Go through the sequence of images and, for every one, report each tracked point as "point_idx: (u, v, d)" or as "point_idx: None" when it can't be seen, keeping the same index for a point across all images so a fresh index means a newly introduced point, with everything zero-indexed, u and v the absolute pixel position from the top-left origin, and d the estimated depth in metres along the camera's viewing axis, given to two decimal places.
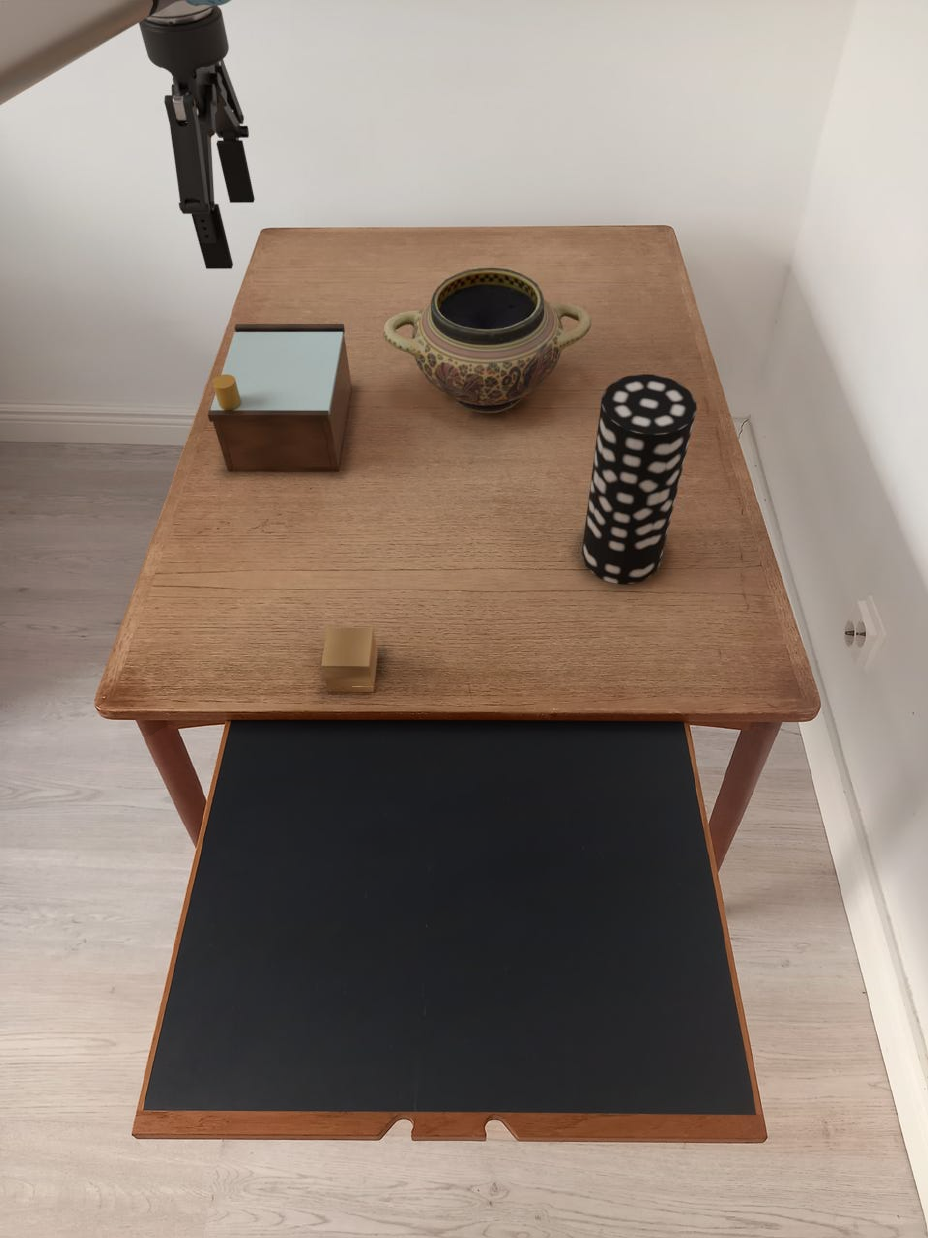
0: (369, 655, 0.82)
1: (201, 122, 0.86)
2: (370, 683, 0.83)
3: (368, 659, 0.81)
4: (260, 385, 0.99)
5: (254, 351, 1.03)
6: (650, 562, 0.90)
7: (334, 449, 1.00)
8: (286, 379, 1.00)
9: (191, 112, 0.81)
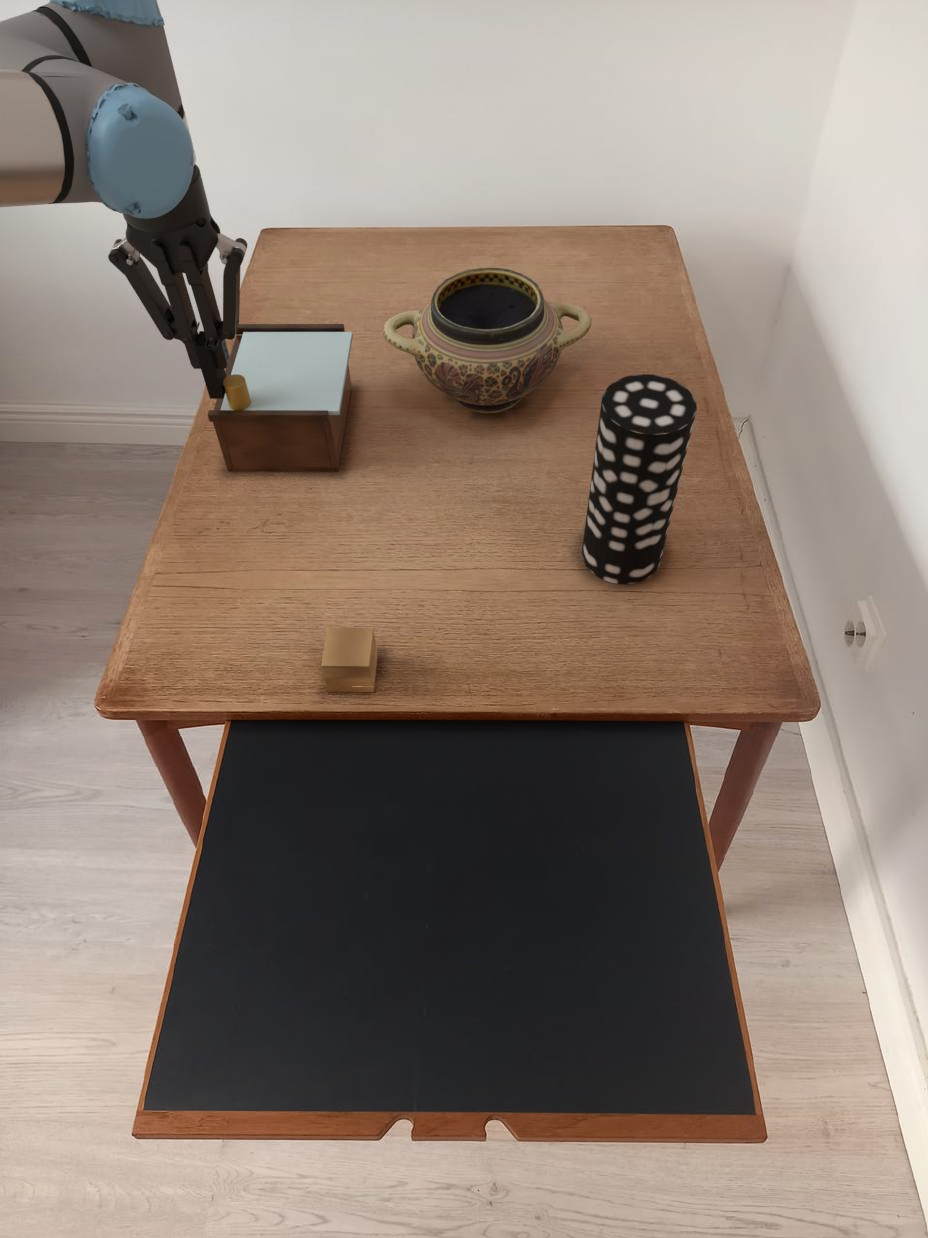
0: (369, 655, 0.82)
1: None
2: (370, 683, 0.83)
3: (368, 659, 0.81)
4: (270, 385, 0.99)
5: (263, 351, 1.03)
6: (650, 562, 0.90)
7: (334, 449, 1.00)
8: (296, 379, 1.00)
9: None
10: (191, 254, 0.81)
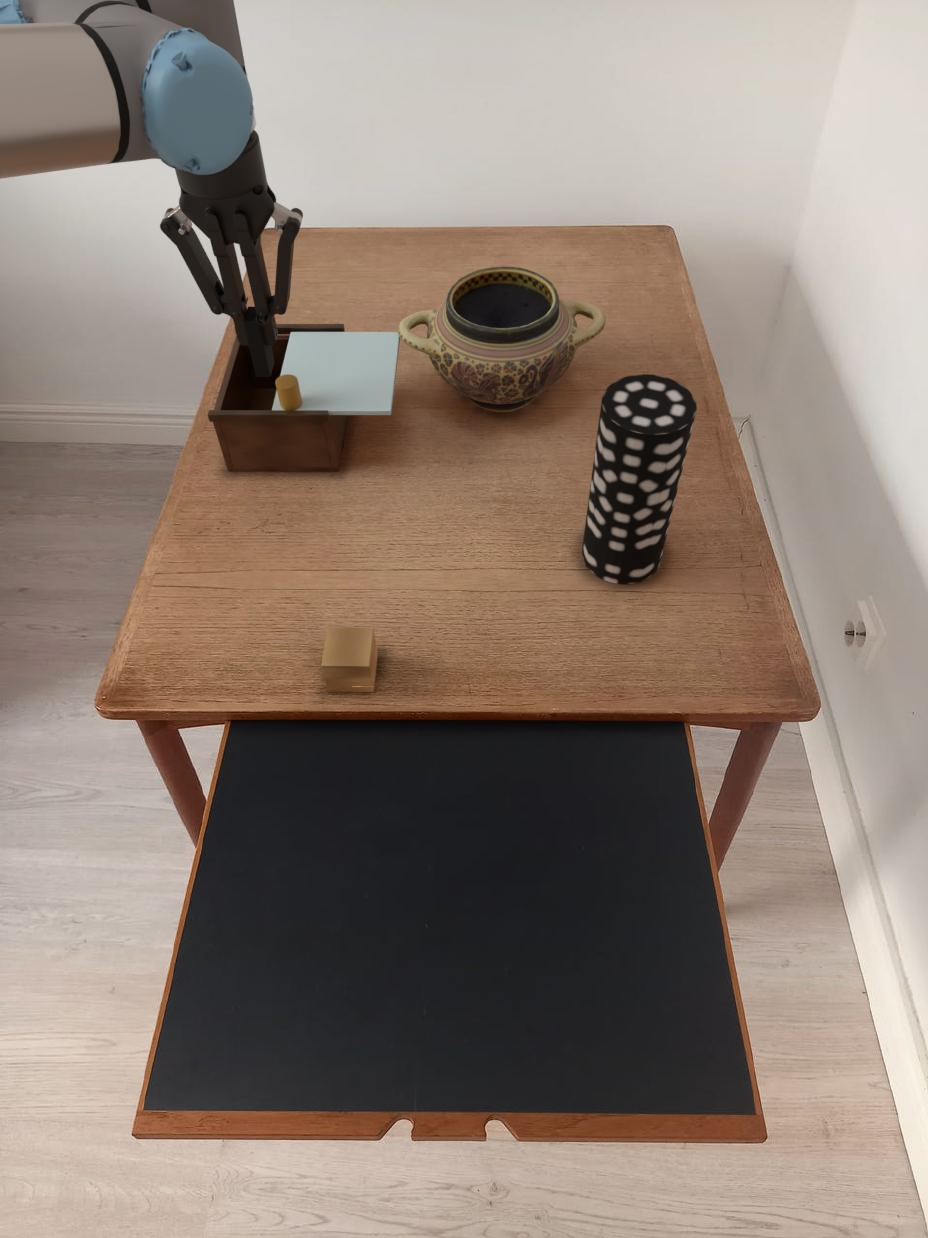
0: (369, 655, 0.82)
1: None
2: (370, 683, 0.83)
3: (368, 659, 0.81)
4: (320, 385, 0.99)
5: (311, 351, 1.03)
6: (650, 562, 0.90)
7: (334, 449, 1.00)
8: (346, 379, 0.99)
9: None
10: (246, 223, 0.79)
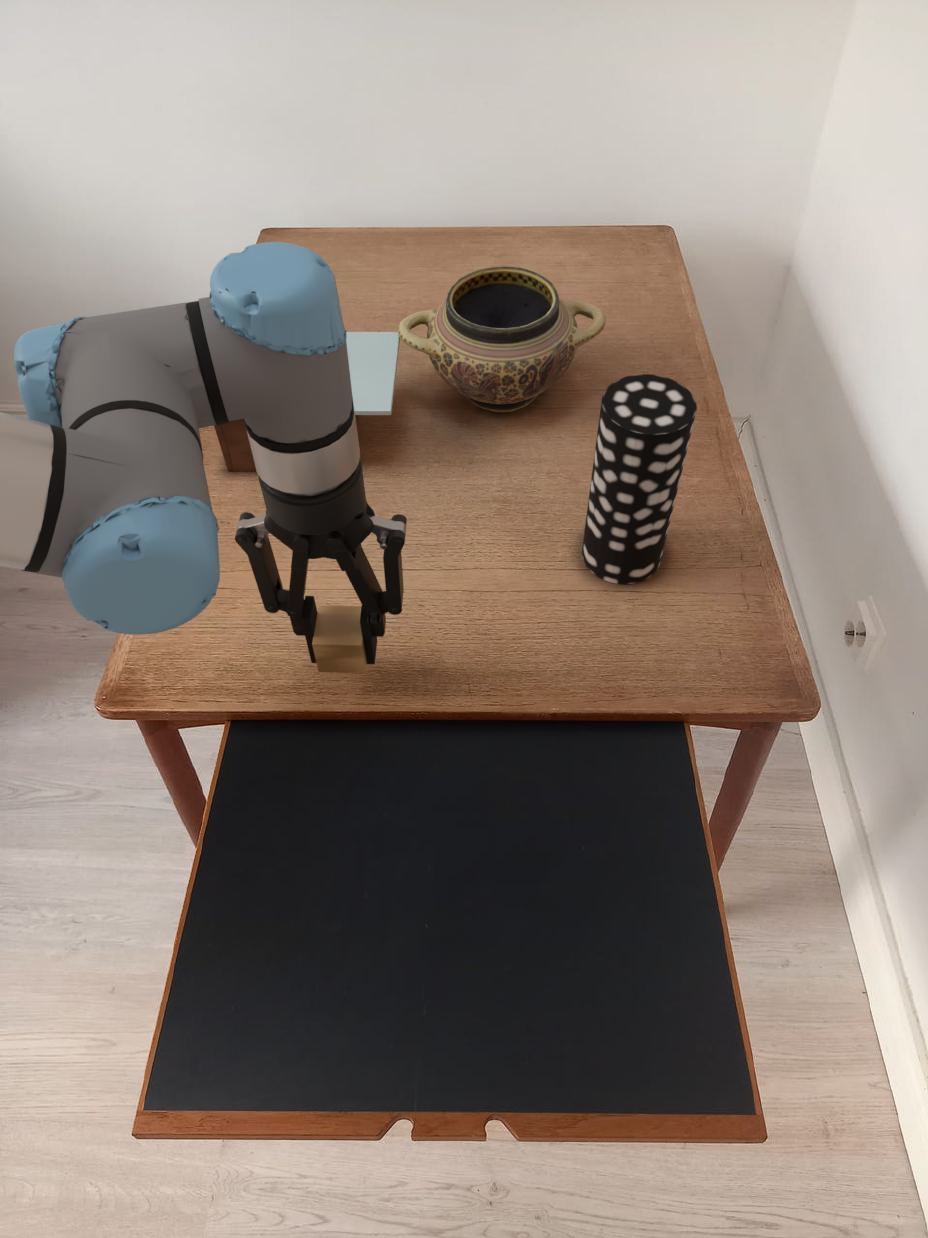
0: None
1: None
2: (363, 663, 0.80)
3: (361, 638, 0.79)
4: None
5: None
6: (650, 562, 0.90)
7: None
8: None
9: None
10: (342, 546, 0.68)
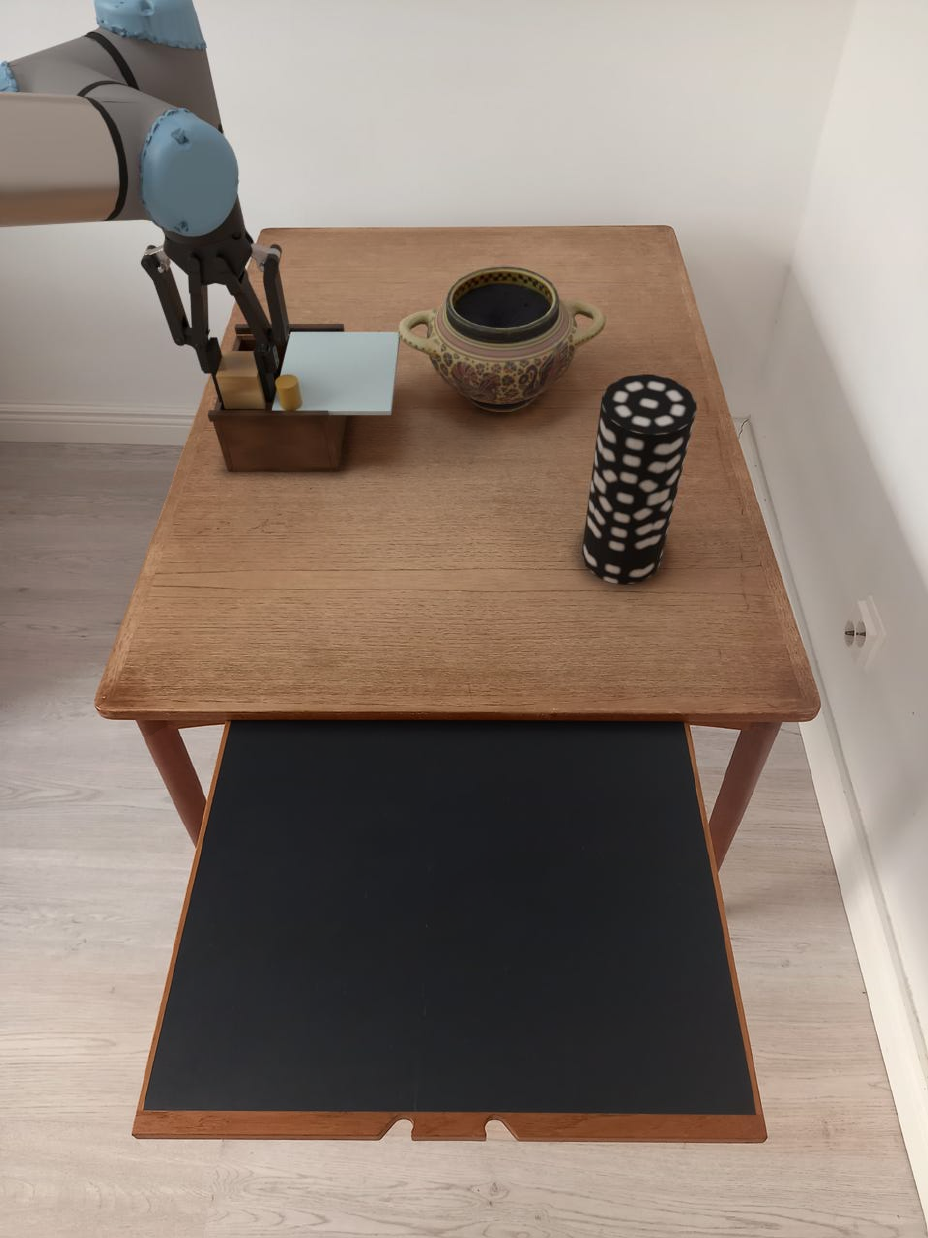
0: None
1: None
2: (260, 397, 0.96)
3: (256, 371, 0.95)
4: (320, 385, 0.99)
5: (311, 351, 1.03)
6: (650, 562, 0.90)
7: (334, 449, 1.00)
8: (346, 379, 0.99)
9: (280, 258, 0.87)
10: (226, 266, 0.84)
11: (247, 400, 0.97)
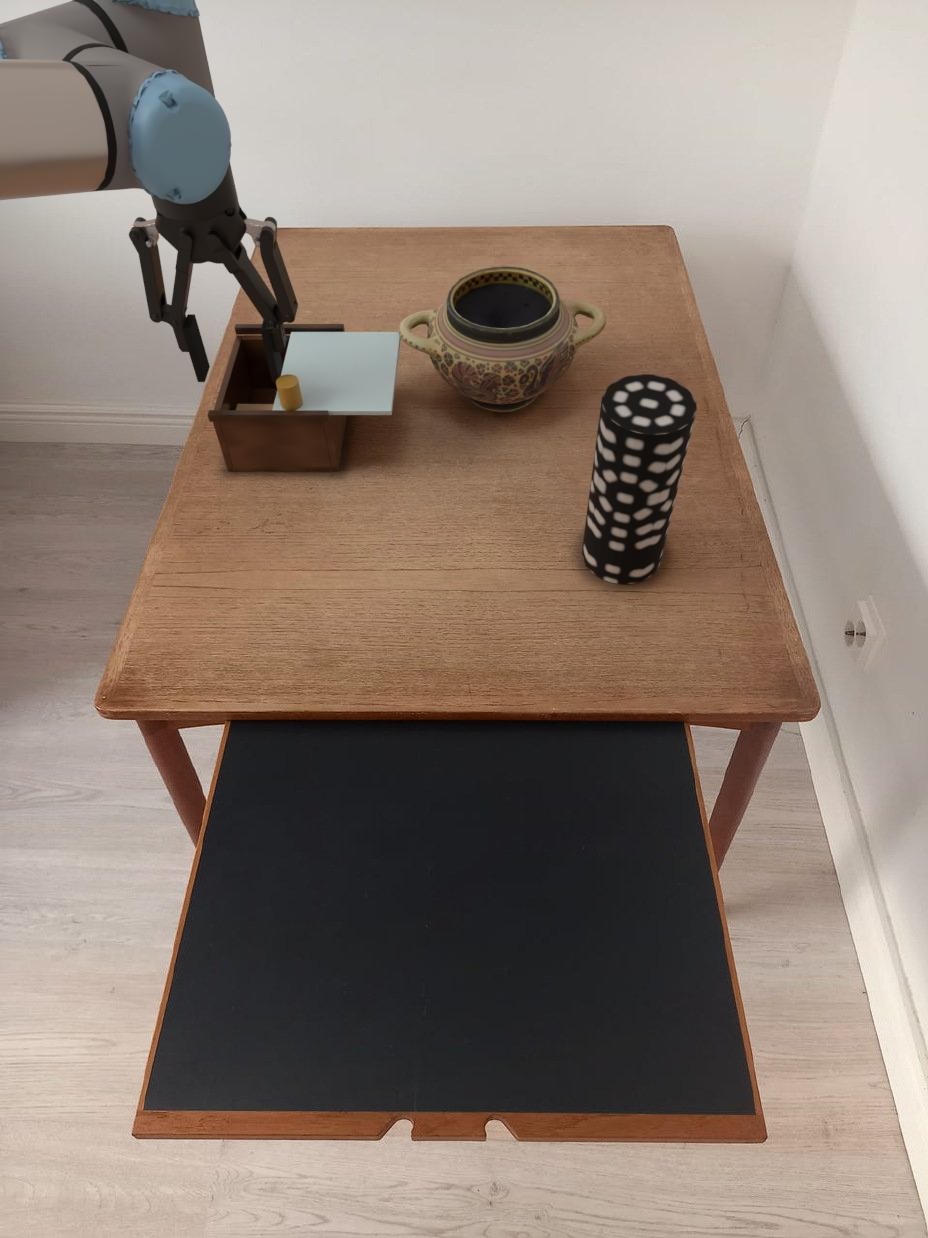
0: None
1: None
2: None
3: None
4: (321, 385, 0.99)
5: (312, 351, 1.03)
6: (650, 562, 0.90)
7: (334, 449, 1.00)
8: (346, 379, 0.99)
9: (276, 231, 0.85)
10: (219, 243, 0.83)
11: None
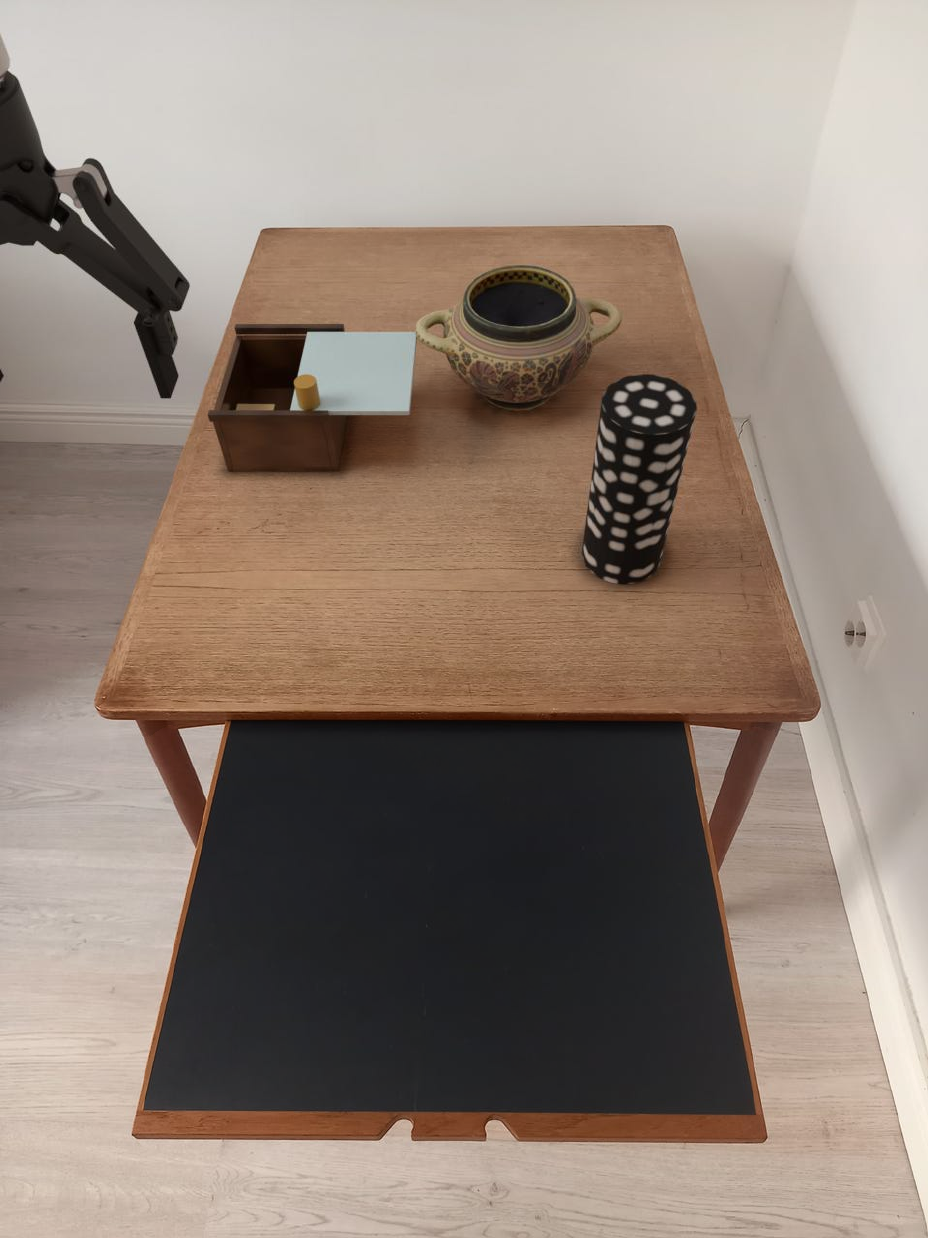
0: None
1: None
2: None
3: None
4: (338, 385, 0.99)
5: (329, 351, 1.03)
6: (650, 562, 0.90)
7: (334, 449, 1.00)
8: (363, 379, 0.99)
9: (106, 178, 0.56)
10: (17, 214, 0.55)
11: None
